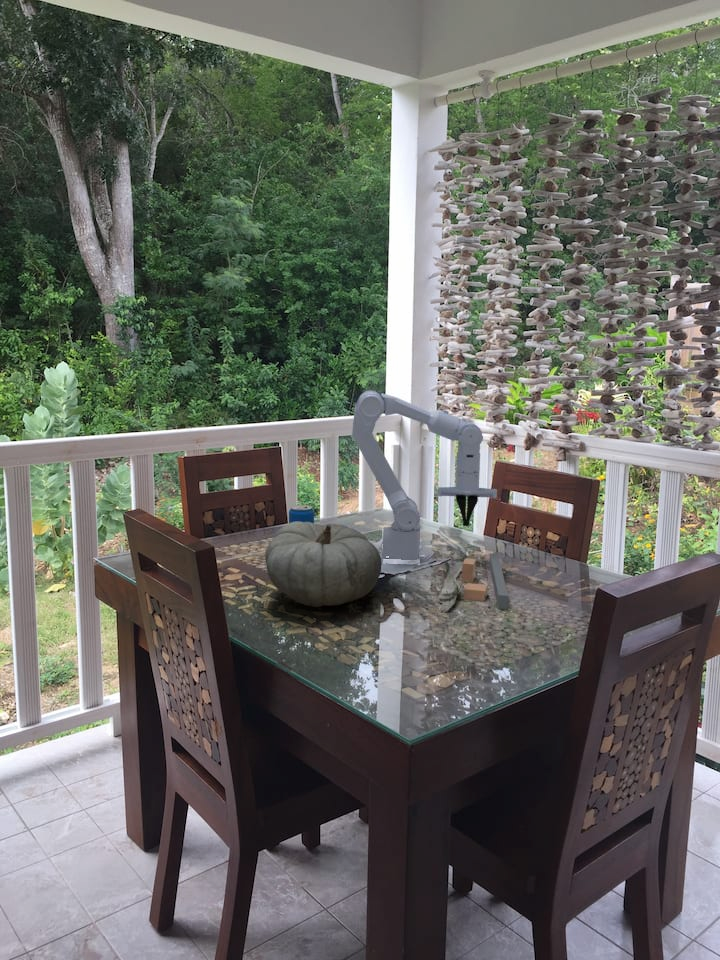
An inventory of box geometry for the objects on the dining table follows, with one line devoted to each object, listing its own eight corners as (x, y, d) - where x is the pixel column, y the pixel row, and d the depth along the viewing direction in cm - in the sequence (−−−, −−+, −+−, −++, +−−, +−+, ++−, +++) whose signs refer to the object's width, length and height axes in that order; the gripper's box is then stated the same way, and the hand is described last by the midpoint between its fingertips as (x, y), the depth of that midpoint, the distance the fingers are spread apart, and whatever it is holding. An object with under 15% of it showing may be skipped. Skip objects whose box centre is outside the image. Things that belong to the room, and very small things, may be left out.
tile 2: (472, 583, 189) (461, 582, 190) (475, 577, 193) (464, 576, 194) (473, 564, 188) (462, 563, 189) (475, 559, 193) (465, 558, 193)
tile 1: (463, 600, 178) (464, 589, 178) (466, 593, 182) (467, 582, 182) (484, 602, 177) (484, 591, 176) (487, 595, 181) (487, 585, 181)
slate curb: (497, 608, 172) (498, 595, 171) (489, 565, 203) (490, 553, 203) (507, 609, 172) (508, 595, 171) (497, 565, 203) (498, 554, 202)
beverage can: (318, 551, 214) (319, 506, 211) (304, 557, 208) (304, 511, 206) (298, 547, 217) (298, 503, 215) (283, 553, 212) (283, 507, 210)
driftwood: (433, 612, 170) (457, 615, 169) (434, 601, 169) (458, 603, 168) (446, 562, 205) (466, 563, 204) (446, 552, 205) (466, 554, 204)
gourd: (298, 627, 160) (298, 541, 157) (242, 592, 180) (241, 515, 177) (401, 605, 174) (403, 525, 170) (339, 574, 194) (339, 503, 191)
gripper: (438, 473, 199) (436, 527, 201) (498, 475, 197) (496, 530, 200) (438, 468, 206) (436, 521, 208) (496, 470, 204) (494, 523, 207)
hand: (465, 525), depth 205 cm, fingers closed
